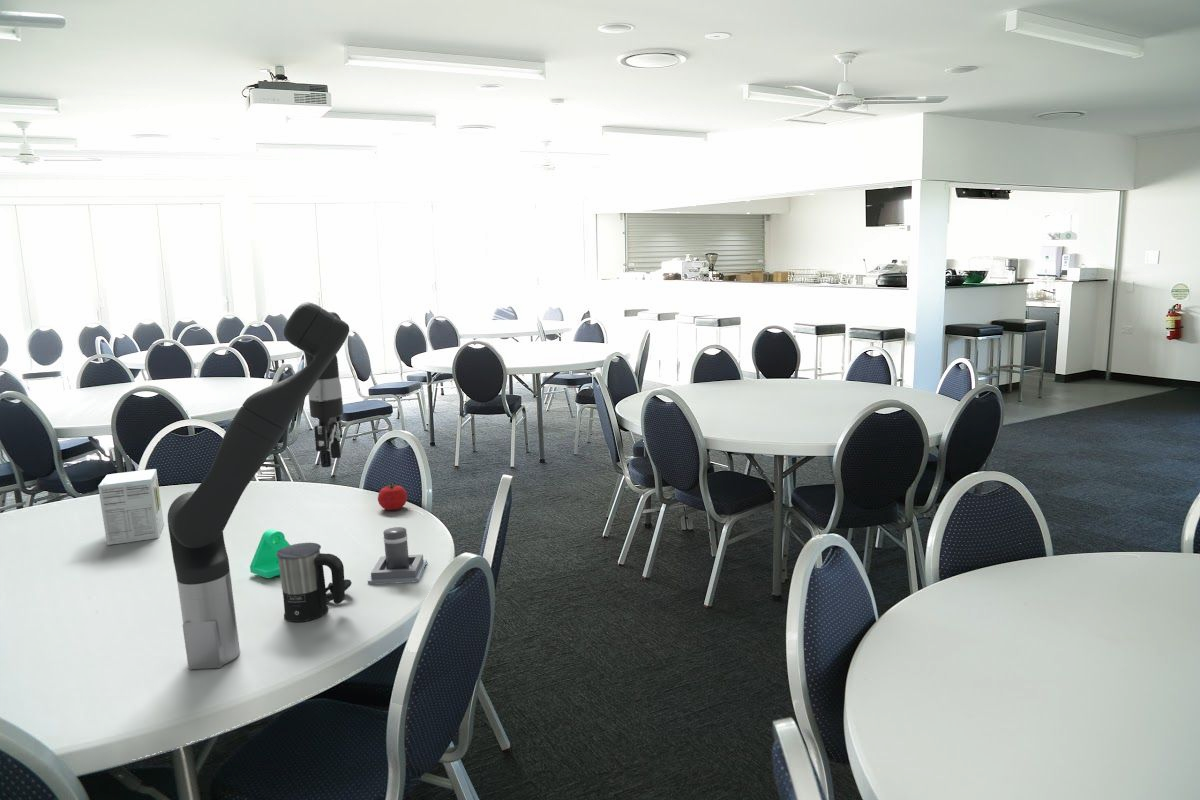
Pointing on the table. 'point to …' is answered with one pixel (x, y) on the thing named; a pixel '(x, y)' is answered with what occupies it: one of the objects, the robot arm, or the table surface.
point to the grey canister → (396, 548)
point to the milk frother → (309, 581)
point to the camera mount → (268, 554)
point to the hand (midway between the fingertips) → (331, 462)
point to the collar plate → (398, 571)
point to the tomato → (392, 497)
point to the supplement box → (131, 506)
